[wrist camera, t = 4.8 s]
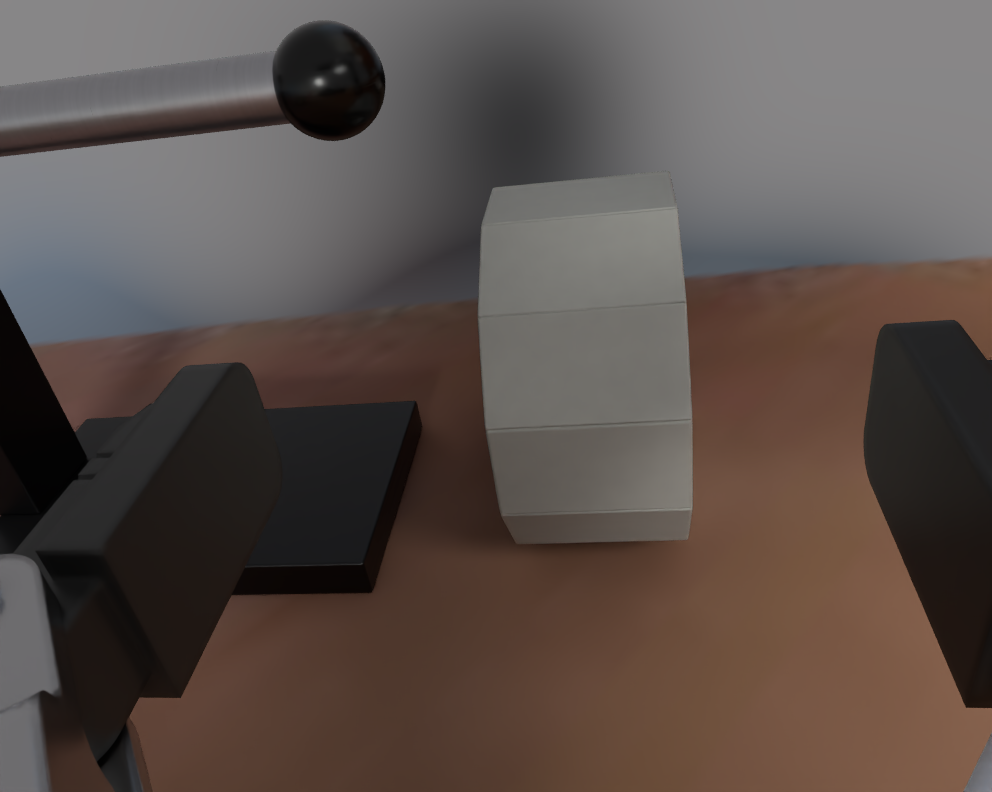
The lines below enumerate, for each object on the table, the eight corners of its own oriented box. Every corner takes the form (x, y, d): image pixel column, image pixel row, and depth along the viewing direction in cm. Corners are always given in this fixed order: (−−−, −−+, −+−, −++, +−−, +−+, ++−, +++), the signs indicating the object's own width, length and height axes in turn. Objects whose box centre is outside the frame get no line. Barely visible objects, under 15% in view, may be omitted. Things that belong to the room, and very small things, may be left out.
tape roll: (668, 401, 29) (661, 129, 24) (693, 612, 21) (692, 274, 16) (538, 408, 30) (504, 145, 24) (516, 614, 22) (459, 291, 17)
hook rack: (485, 424, 29) (394, -89, 21) (451, 592, 23) (299, -56, 14) (87, 443, 32) (-143, -5, 23) (-46, 600, 25) (-437, 56, 17)
